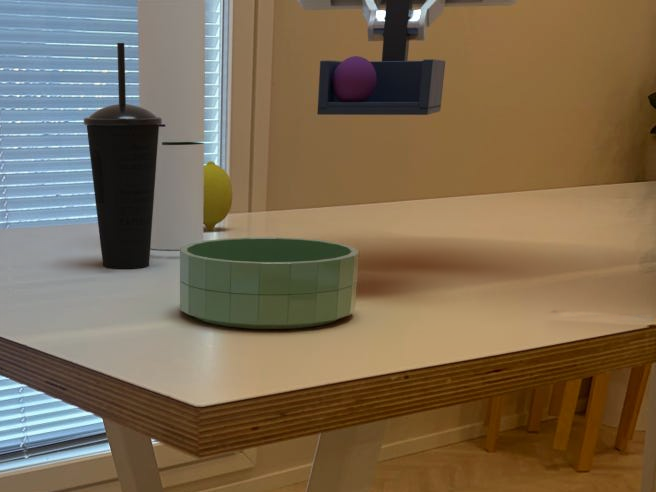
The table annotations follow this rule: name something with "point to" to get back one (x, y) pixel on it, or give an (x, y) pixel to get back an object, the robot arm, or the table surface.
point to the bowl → (268, 282)
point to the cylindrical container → (175, 114)
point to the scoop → (390, 76)
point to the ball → (354, 80)
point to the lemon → (216, 195)
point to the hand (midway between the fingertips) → (395, 35)
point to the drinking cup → (124, 176)
